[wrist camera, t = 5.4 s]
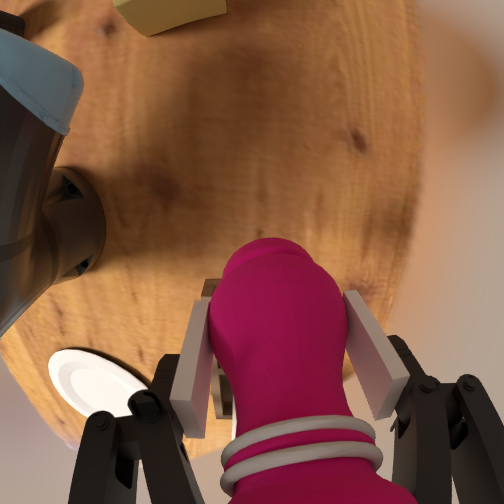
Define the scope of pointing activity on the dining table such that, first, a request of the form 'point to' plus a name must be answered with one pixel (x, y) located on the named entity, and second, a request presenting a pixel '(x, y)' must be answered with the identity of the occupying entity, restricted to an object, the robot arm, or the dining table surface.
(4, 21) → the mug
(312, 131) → the dining table surface
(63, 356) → the plate
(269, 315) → the pepper mill
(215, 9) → the cheese
